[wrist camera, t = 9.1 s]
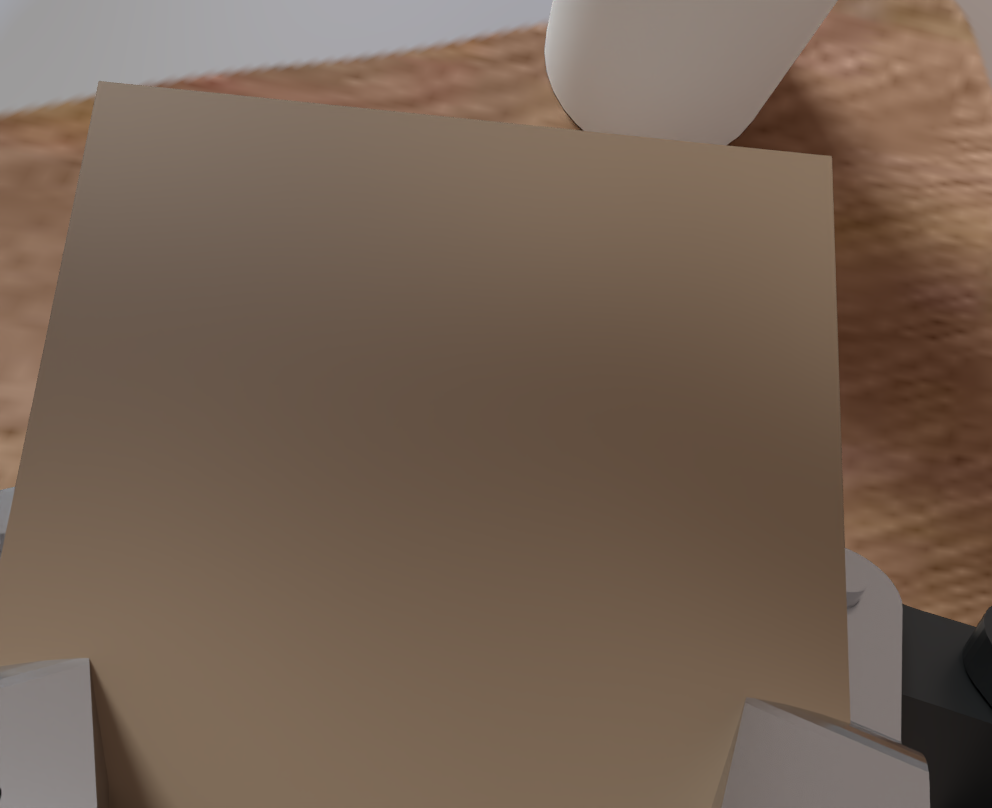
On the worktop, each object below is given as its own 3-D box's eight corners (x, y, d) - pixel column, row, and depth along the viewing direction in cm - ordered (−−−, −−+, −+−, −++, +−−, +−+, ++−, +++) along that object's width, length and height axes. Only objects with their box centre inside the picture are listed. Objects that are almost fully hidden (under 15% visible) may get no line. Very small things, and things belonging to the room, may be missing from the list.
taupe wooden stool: (582, 705, 15) (859, 969, 5) (272, 686, 14) (-77, 931, 5) (594, 405, 16) (832, 155, 6) (309, 382, 16) (97, 81, 6)
